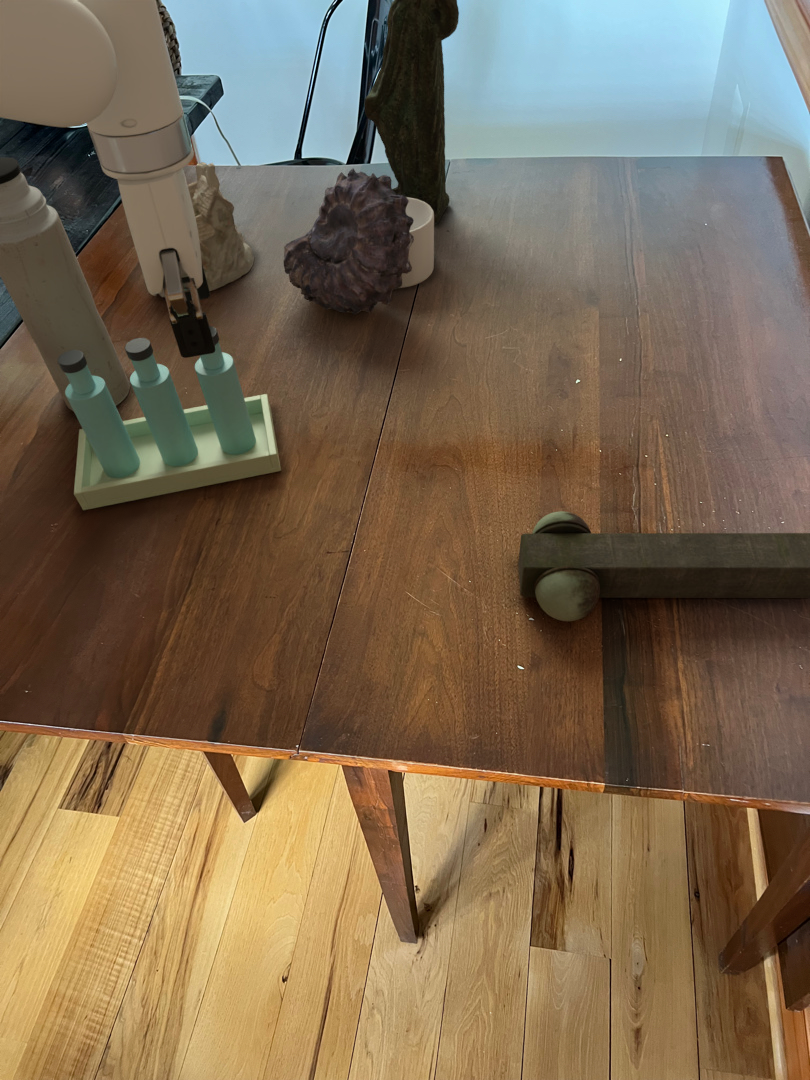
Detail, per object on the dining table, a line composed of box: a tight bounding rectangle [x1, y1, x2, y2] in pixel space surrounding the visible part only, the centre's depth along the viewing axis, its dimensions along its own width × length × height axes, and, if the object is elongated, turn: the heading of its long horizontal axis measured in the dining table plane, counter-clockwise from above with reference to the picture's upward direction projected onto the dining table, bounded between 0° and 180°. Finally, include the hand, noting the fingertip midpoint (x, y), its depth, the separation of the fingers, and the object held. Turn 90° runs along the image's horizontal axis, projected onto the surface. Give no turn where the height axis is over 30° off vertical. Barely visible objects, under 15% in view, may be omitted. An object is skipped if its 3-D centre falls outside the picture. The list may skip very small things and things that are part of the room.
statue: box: [363, 0, 460, 226], centre depth 108 cm, size 15×10×35 cm, turn 83°
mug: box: [398, 197, 435, 289], centre depth 108 cm, size 13×10×8 cm
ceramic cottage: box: [158, 161, 255, 299], centre depth 109 cm, size 16×16×15 cm
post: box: [517, 510, 810, 622], centre depth 70 cm, size 11×6×30 cm
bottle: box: [194, 325, 256, 455], centre depth 82 cm, size 4×4×15 cm
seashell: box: [283, 168, 414, 315], centre depth 98 cm, size 20×13×15 cm
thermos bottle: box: [0, 156, 131, 412], centre depth 85 cm, size 8×8×28 cm
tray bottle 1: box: [58, 350, 140, 478], centre depth 81 cm, size 4×4×15 cm
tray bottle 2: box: [124, 337, 198, 467], centre depth 81 cm, size 4×4×15 cm
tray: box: [73, 393, 282, 511], centre depth 86 cm, size 22×11×3 cm, turn 102°
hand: (196, 325), depth 75 cm, fingers open, 9 cm apart
